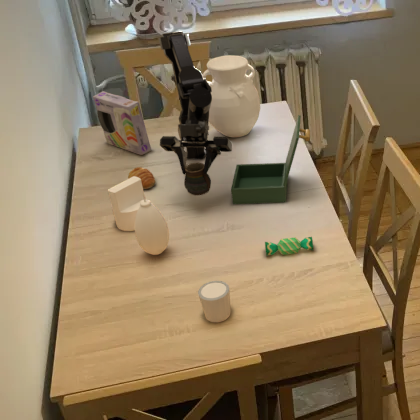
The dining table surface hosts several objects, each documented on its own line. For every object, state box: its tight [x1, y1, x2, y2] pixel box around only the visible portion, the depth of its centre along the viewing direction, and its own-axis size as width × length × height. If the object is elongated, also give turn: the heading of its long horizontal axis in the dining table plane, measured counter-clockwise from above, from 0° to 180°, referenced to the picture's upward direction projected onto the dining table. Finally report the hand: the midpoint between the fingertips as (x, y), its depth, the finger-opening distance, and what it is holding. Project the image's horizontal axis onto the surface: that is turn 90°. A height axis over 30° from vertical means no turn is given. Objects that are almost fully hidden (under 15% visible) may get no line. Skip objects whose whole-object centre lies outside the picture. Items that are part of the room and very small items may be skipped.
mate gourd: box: [183, 161, 212, 197], centre depth 181 cm, size 7×8×10 cm
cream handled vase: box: [202, 54, 261, 138], centre depth 221 cm, size 19×18×25 cm
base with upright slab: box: [107, 176, 145, 232], centre depth 177 cm, size 9×9×12 cm
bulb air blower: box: [134, 192, 170, 256], centre depth 163 cm, size 8×8×18 cm
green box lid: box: [283, 114, 311, 186], centre depth 187 cm, size 16×15×4 cm
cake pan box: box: [92, 90, 152, 156], centre depth 214 cm, size 19×5×18 cm, turn 55°
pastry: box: [127, 166, 157, 190], centre depth 197 cm, size 9×7×4 cm
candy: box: [264, 236, 314, 257], centre depth 167 cm, size 12×3×4 cm
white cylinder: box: [197, 280, 232, 323], centre depth 146 cm, size 7×7×7 cm
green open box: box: [230, 162, 289, 205], centre depth 192 cm, size 15×15×5 cm
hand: (194, 174), depth 179 cm, fingers closed on mate gourd, 5 cm apart
